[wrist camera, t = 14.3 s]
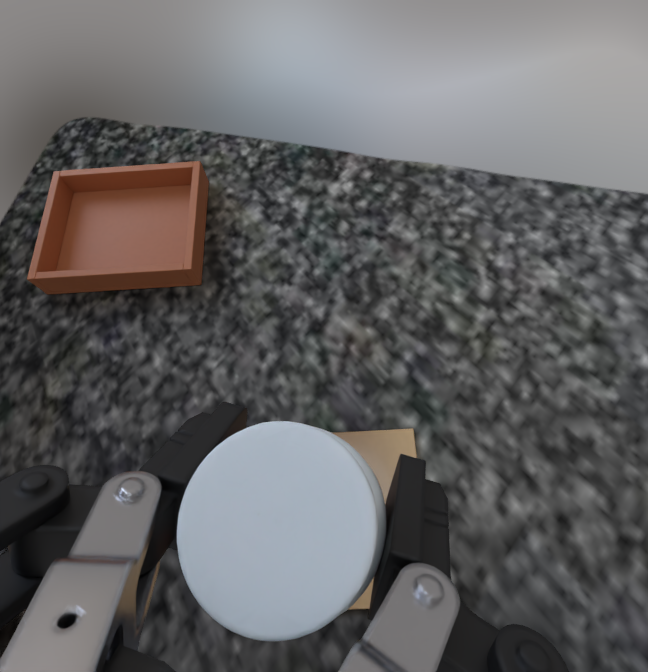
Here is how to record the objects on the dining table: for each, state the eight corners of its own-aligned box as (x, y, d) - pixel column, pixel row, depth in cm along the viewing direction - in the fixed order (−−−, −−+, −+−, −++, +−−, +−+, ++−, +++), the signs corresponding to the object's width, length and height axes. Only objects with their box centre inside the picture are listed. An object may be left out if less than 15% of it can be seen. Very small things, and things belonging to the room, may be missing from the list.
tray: (47, 294, 34) (26, 279, 32) (70, 191, 38) (53, 171, 35) (201, 285, 33) (191, 269, 31) (209, 181, 37) (200, 160, 35)
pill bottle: (219, 522, 16) (105, 528, 8) (306, 427, 17) (275, 359, 10) (310, 623, 15) (274, 743, 7) (398, 514, 16) (447, 513, 8)
